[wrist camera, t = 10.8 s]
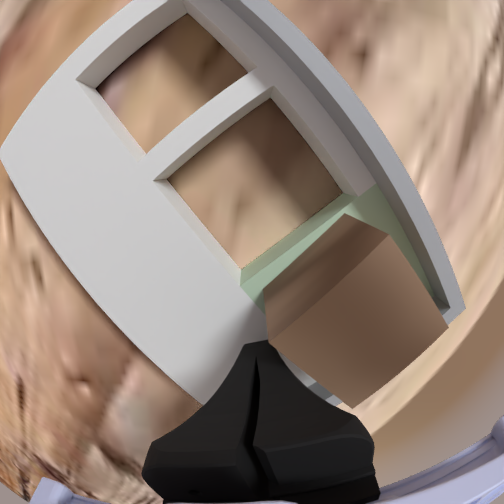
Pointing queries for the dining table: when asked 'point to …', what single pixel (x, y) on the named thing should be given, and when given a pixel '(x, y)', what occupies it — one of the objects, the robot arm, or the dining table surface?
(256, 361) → the robot arm
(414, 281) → the walnut block
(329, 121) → the board
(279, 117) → the dining table surface
